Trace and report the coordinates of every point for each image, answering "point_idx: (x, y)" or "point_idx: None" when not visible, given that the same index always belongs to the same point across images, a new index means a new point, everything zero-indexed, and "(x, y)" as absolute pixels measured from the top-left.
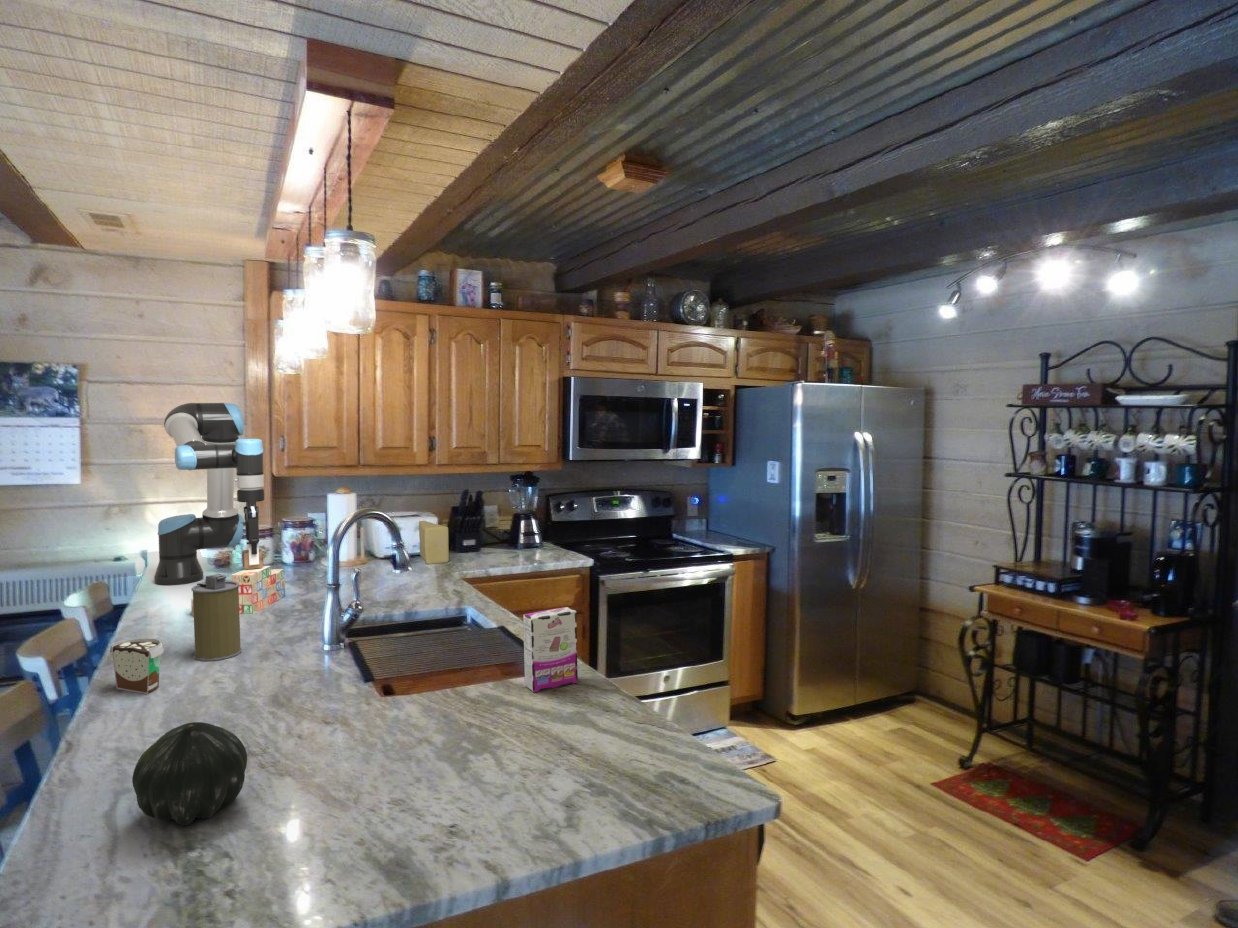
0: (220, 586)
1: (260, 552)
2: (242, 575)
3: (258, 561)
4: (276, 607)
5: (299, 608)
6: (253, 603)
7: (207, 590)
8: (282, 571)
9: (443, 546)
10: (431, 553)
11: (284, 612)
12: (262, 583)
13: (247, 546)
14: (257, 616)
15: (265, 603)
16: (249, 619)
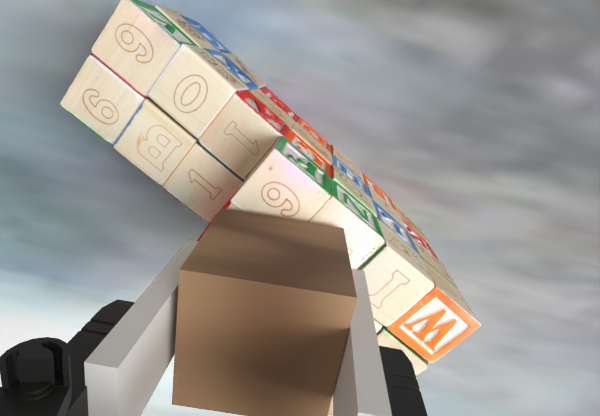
0: None
1: (352, 308)
2: (432, 358)
3: (366, 286)
4: (386, 124)
5: (487, 46)
6: (422, 238)
7: None
8: (148, 15)
9: None
10: None
11: (501, 125)
12: (374, 208)
13: (150, 394)
14: (473, 226)
15: (347, 162)
16: (492, 259)
